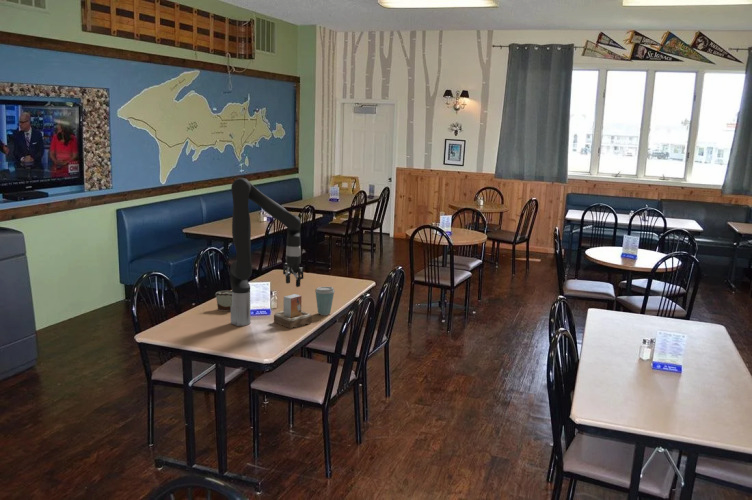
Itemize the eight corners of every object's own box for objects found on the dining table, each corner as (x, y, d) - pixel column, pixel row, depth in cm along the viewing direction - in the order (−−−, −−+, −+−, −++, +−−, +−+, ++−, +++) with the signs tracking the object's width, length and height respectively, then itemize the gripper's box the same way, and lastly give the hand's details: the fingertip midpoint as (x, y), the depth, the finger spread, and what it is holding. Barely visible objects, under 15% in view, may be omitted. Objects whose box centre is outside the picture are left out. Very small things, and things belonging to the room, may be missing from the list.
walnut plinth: (290, 328, 329) (290, 319, 328) (273, 322, 338) (273, 313, 337) (311, 323, 338) (311, 314, 337) (295, 317, 348) (295, 308, 347)
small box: (290, 318, 333) (290, 298, 331) (283, 315, 336) (283, 296, 334) (301, 314, 339) (301, 295, 337) (294, 312, 342) (294, 293, 340)
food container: (240, 308, 361) (240, 290, 359) (237, 311, 355) (236, 293, 353) (219, 306, 362) (218, 289, 360) (215, 310, 356) (214, 292, 354)
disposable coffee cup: (310, 314, 353) (311, 288, 350) (321, 309, 363) (321, 284, 360) (327, 317, 349) (327, 291, 346) (337, 312, 358) (338, 286, 355)
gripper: (279, 252, 333) (278, 283, 336) (296, 257, 323) (295, 288, 326) (291, 251, 338) (290, 281, 342) (307, 255, 328) (307, 286, 332)
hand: (292, 285), depth 334 cm, fingers open, 8 cm apart
